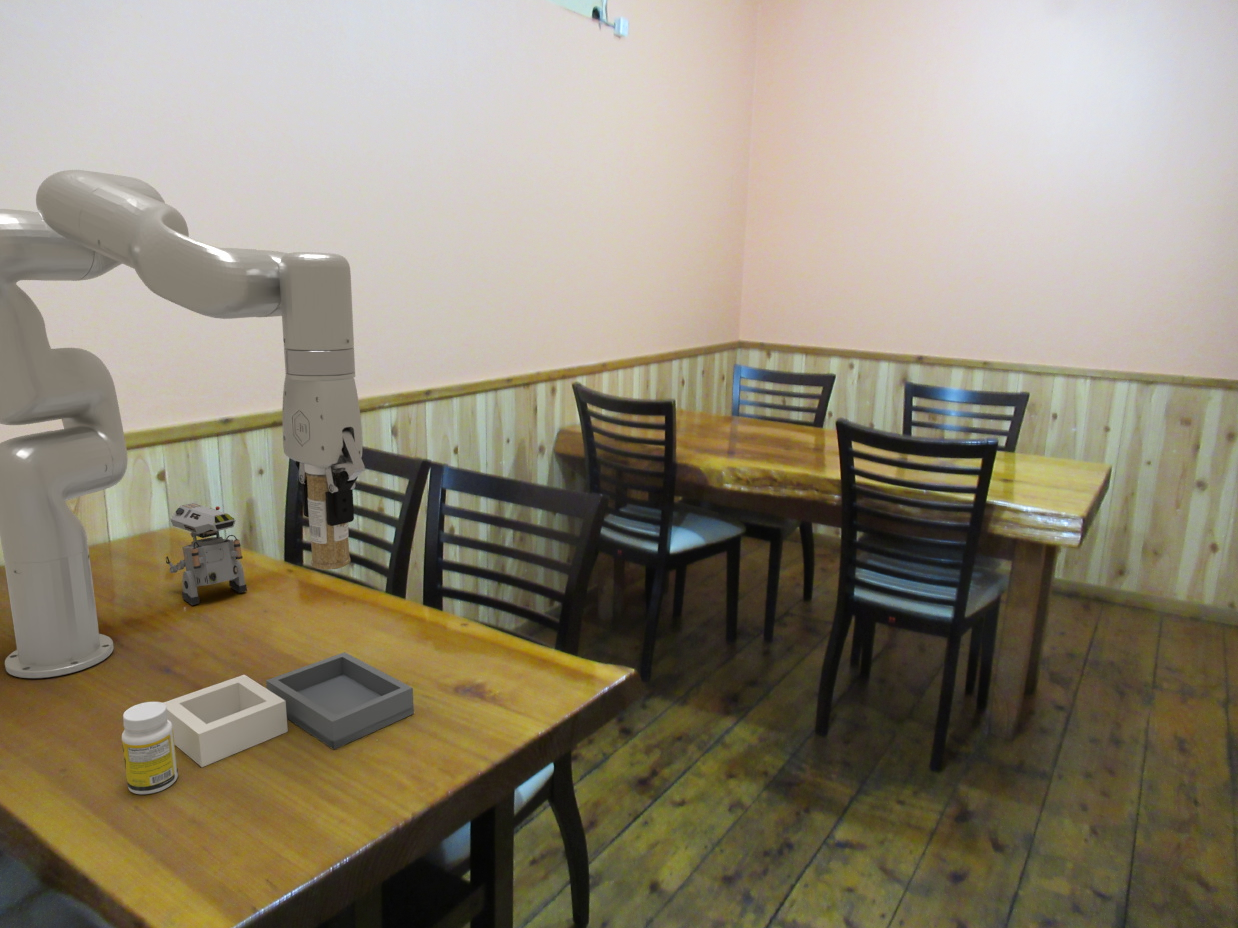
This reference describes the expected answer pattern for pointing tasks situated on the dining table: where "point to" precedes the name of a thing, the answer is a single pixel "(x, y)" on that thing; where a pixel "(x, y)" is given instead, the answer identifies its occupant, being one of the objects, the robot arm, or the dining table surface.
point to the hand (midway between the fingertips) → (328, 517)
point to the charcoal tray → (342, 699)
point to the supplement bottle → (149, 748)
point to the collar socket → (225, 719)
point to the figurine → (207, 551)
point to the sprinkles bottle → (324, 524)
